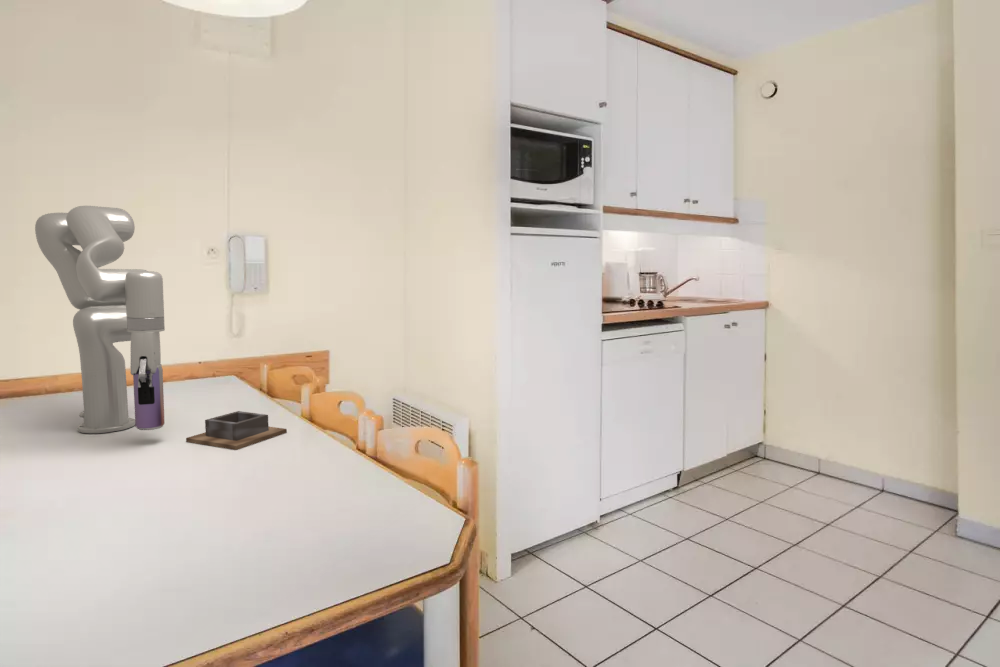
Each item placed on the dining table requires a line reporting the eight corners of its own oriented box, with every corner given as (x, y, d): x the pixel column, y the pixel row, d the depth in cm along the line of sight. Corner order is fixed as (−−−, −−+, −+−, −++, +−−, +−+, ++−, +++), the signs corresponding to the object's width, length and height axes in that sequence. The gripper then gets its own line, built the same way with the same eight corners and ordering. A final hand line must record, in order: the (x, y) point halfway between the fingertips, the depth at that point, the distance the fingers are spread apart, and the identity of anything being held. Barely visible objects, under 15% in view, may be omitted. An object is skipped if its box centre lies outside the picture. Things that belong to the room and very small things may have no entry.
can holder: (186, 442, 142) (185, 421, 141) (239, 426, 156) (238, 407, 156) (236, 450, 135) (235, 428, 135) (286, 432, 150) (286, 413, 149)
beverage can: (151, 431, 137) (148, 368, 135) (129, 429, 138) (126, 366, 136) (170, 425, 143) (168, 363, 141) (149, 422, 144) (146, 362, 142)
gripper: (134, 320, 144) (137, 393, 146) (118, 329, 128) (122, 410, 130) (169, 320, 147) (172, 392, 149) (158, 328, 131) (161, 408, 133)
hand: (149, 400), depth 140 cm, fingers closed on beverage can, 5 cm apart
